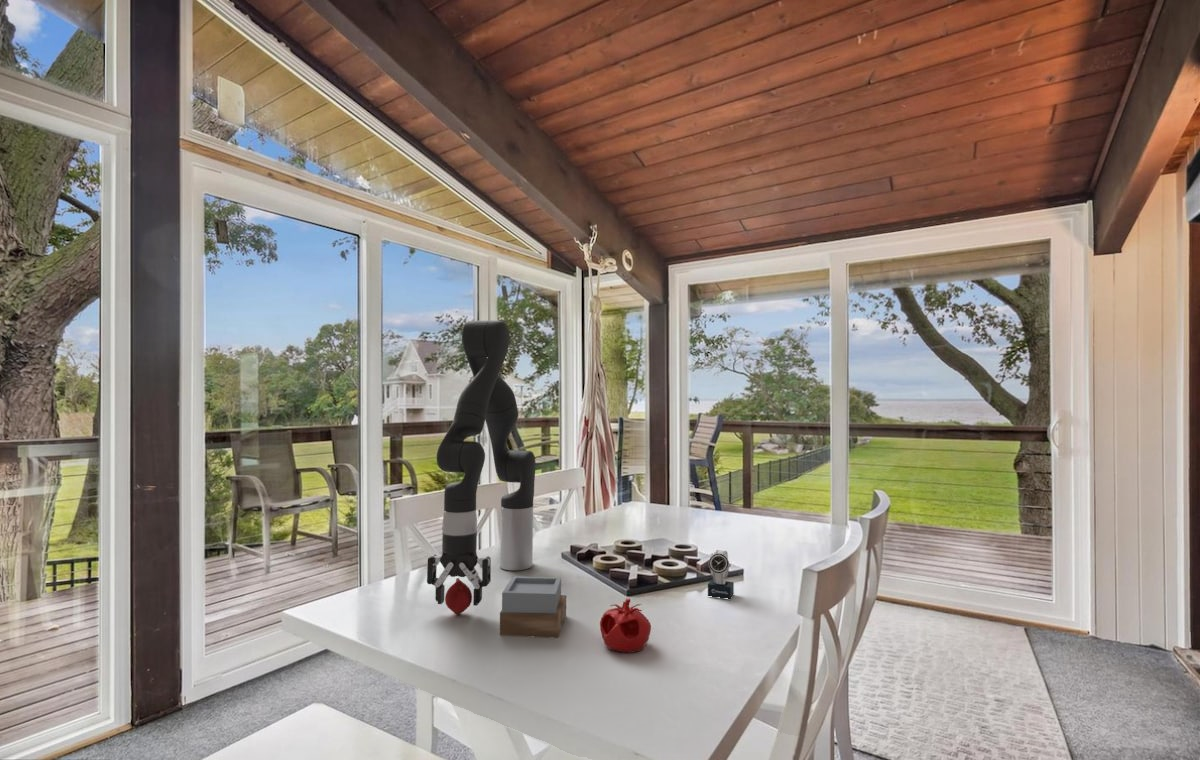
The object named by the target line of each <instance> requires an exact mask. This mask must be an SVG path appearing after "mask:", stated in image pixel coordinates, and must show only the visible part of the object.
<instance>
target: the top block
mask: <svg viewBox="0 0 1200 760" xmlns="http://www.w3.org/2000/svg"><path fill="white" fill-rule="evenodd" d="M561 595H562V577H559V576H557V577H556V576H553V577H552V576H550V577H549V576H512V577H511V578H510V580H509V581H508V583H507V584H506V586H505V587H504V589H503V591H502V593H501V610H502V612H509V613H550V614H555V613H556V610H557V607H558V604H559V601H560V597H561Z"/></svg>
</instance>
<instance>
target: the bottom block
mask: <svg viewBox="0 0 1200 760" xmlns="http://www.w3.org/2000/svg"><path fill="white" fill-rule="evenodd" d="M565 617H566V618H567V594H564V595H563V594H561V597H560V601H559V604H558V607H557V610H556V613H555V614H550V613H509V612H502V609H501V610H500V612H499V636H509V637H510V636H511V637H528V636H530V637H531V636H534V637H533V638H549V637H554V639H555V638H556V639H558V638H559V636H558V635H560V632H561V630H562V628H563V624H564V623H565V620H566V618H565ZM564 619H565V620H564ZM563 622H564V623H563ZM561 627H562V628H561ZM530 637H529V638H530Z"/></svg>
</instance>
